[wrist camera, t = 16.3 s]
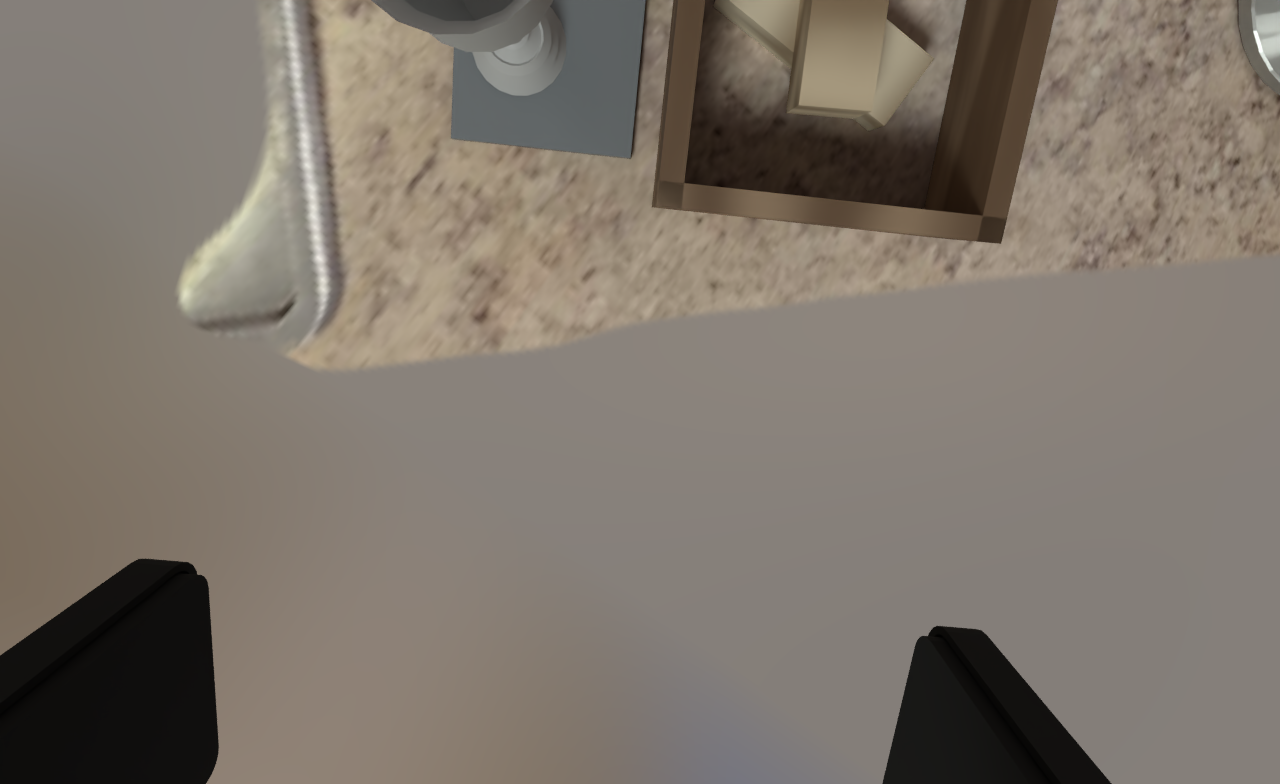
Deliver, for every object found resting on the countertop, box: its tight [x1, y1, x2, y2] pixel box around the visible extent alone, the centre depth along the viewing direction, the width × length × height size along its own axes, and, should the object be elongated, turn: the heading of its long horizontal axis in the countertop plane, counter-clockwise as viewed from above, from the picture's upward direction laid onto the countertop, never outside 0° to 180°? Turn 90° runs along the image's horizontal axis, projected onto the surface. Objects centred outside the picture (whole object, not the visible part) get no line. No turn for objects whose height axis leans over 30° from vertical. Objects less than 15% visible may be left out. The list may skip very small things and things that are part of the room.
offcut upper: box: [786, 0, 889, 119], centre depth 34 cm, size 9×4×3 cm, turn 176°
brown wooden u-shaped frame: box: [652, 0, 1058, 244], centre depth 35 cm, size 17×14×7 cm
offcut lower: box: [713, 0, 934, 131], centre depth 37 cm, size 11×4×3 cm, turn 55°
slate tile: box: [451, 0, 646, 159], centre depth 37 cm, size 10×10×1 cm
